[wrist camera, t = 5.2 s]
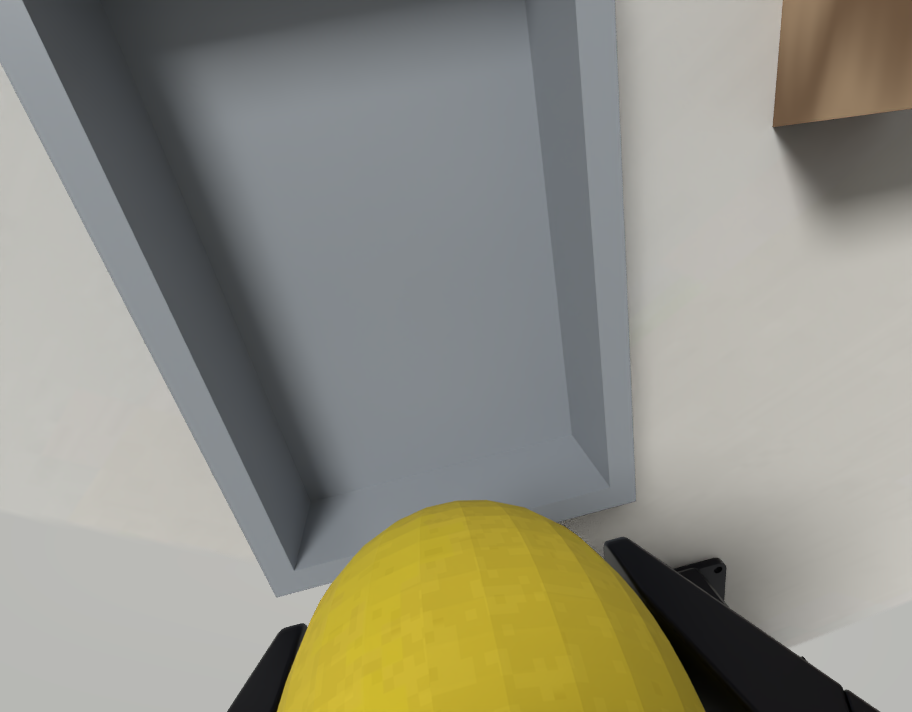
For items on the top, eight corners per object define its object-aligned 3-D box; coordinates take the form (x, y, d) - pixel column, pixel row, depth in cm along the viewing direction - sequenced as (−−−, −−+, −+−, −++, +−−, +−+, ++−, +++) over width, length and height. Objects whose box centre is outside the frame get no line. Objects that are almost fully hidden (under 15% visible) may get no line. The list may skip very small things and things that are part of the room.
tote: (587, 438, 21) (635, 501, 17) (298, 512, 20) (276, 597, 16) (532, -153, 13) (601, -307, 9) (44, -68, 12) (-133, -195, 8)
